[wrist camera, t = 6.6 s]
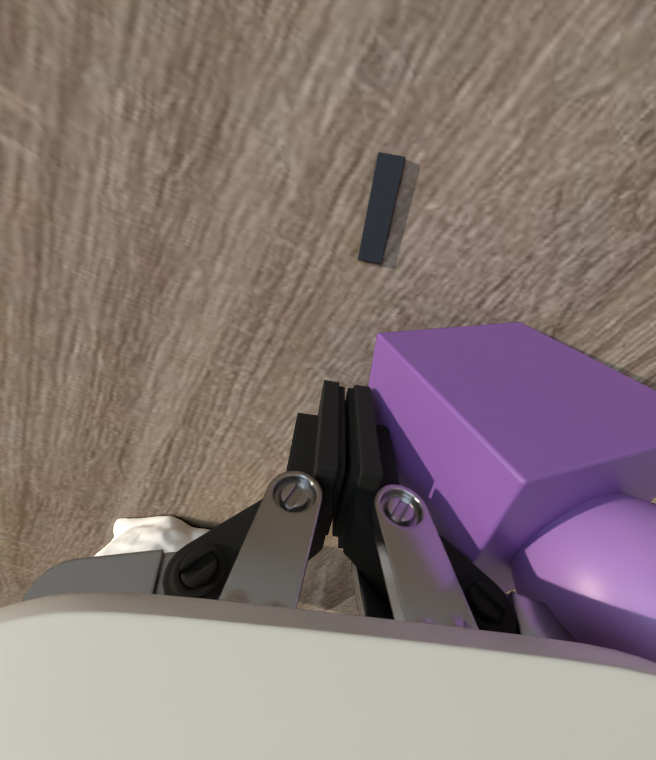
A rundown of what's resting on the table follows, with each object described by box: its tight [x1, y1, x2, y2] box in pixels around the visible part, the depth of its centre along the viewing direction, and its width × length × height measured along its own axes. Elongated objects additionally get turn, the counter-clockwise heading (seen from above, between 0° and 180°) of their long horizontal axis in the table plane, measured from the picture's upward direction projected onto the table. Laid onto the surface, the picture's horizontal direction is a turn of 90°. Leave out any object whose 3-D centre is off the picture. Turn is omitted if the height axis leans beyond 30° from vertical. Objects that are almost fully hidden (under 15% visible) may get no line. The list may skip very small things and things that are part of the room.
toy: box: [368, 322, 656, 663], centre depth 9 cm, size 6×6×9 cm
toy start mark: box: [358, 152, 405, 263], centre depth 10 cm, size 3×1×1 cm, turn 172°
